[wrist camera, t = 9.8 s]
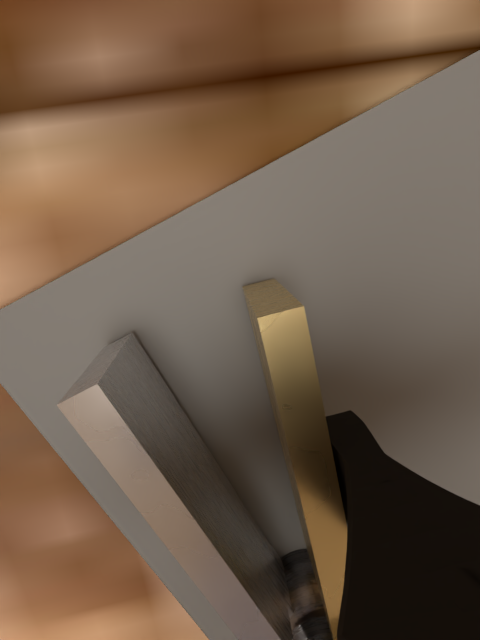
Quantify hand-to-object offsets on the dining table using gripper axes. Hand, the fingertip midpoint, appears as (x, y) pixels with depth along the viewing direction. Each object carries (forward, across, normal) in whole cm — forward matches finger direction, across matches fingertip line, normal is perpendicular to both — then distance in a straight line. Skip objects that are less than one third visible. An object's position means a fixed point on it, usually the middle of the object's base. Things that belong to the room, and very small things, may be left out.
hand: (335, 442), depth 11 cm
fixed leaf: (+2, +3, +2) cm, 4 cm away
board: (+2, -1, +1) cm, 3 cm away
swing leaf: (+1, +2, +2) cm, 3 cm away
